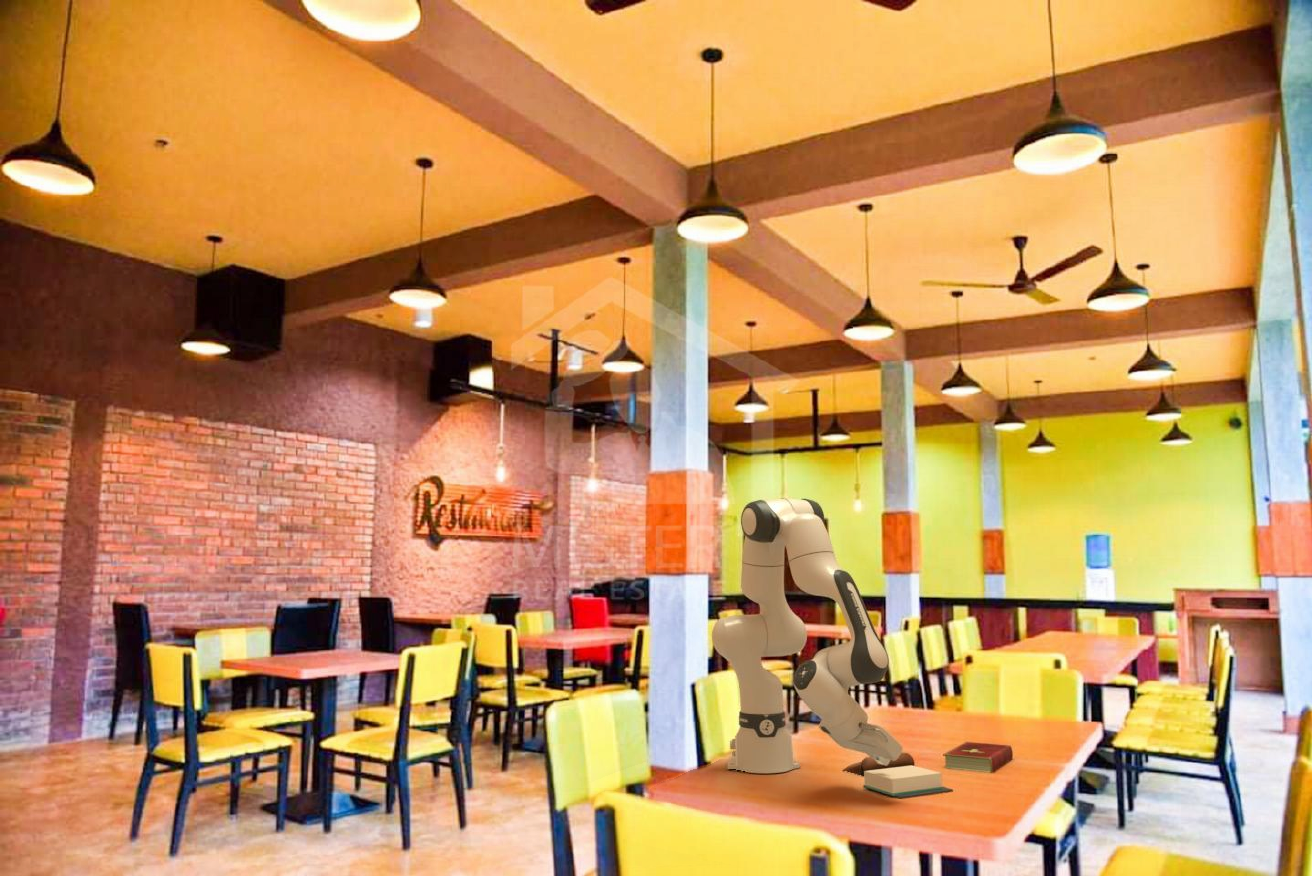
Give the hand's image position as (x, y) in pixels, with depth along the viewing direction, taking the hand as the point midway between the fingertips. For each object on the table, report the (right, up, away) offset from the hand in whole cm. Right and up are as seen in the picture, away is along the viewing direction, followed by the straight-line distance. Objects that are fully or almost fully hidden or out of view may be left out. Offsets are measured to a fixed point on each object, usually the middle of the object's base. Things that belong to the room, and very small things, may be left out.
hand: (884, 762), depth 206 cm
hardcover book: (+32, -12, +29) cm, 45 cm away
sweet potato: (+4, -11, +24) cm, 26 cm away
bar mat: (+6, -7, +1) cm, 9 cm away
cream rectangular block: (-2, -4, -2) cm, 5 cm away
